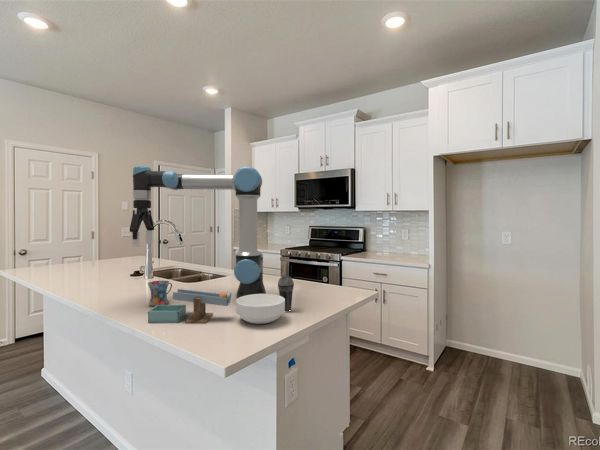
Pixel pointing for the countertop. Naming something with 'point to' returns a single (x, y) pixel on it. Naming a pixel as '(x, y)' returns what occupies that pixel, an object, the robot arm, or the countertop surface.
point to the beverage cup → (286, 290)
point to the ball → (223, 295)
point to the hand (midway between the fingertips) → (142, 245)
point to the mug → (159, 292)
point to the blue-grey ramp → (201, 297)
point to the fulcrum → (199, 313)
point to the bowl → (260, 308)
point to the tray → (166, 314)
